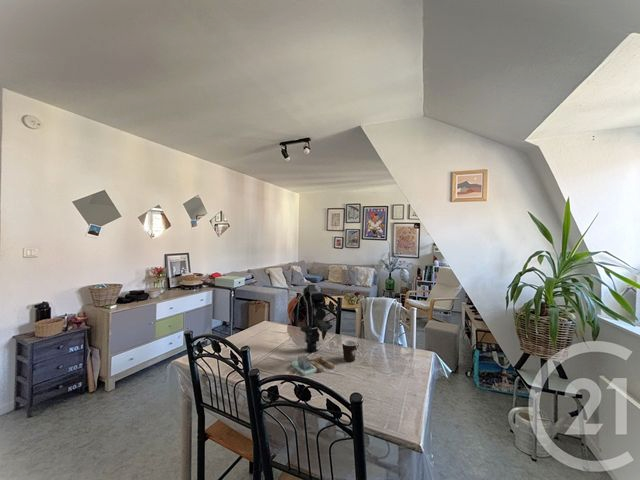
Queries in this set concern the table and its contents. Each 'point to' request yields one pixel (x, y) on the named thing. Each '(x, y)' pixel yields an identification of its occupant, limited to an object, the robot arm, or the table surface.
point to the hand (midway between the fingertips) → (316, 341)
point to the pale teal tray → (295, 365)
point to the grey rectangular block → (304, 363)
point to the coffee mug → (349, 350)
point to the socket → (322, 360)
